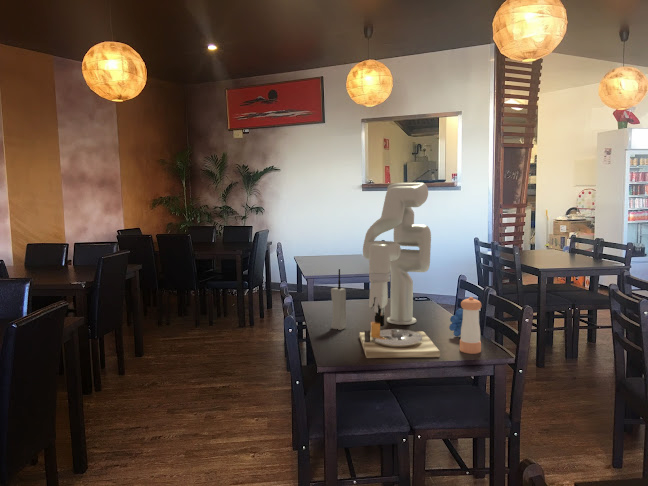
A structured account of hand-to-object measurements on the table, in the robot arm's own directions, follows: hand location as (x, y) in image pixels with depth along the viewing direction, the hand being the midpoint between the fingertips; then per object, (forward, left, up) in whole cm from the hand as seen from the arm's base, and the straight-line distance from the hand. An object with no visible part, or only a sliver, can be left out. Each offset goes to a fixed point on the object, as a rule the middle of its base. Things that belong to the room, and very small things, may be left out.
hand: (379, 325), depth 188 cm
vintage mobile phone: (-21, -14, -7) cm, 27 cm away
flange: (+5, +6, -4) cm, 8 cm away
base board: (+5, +6, -7) cm, 10 cm away
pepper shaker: (+11, +31, -7) cm, 33 cm away
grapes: (-7, +34, -7) cm, 35 cm away
